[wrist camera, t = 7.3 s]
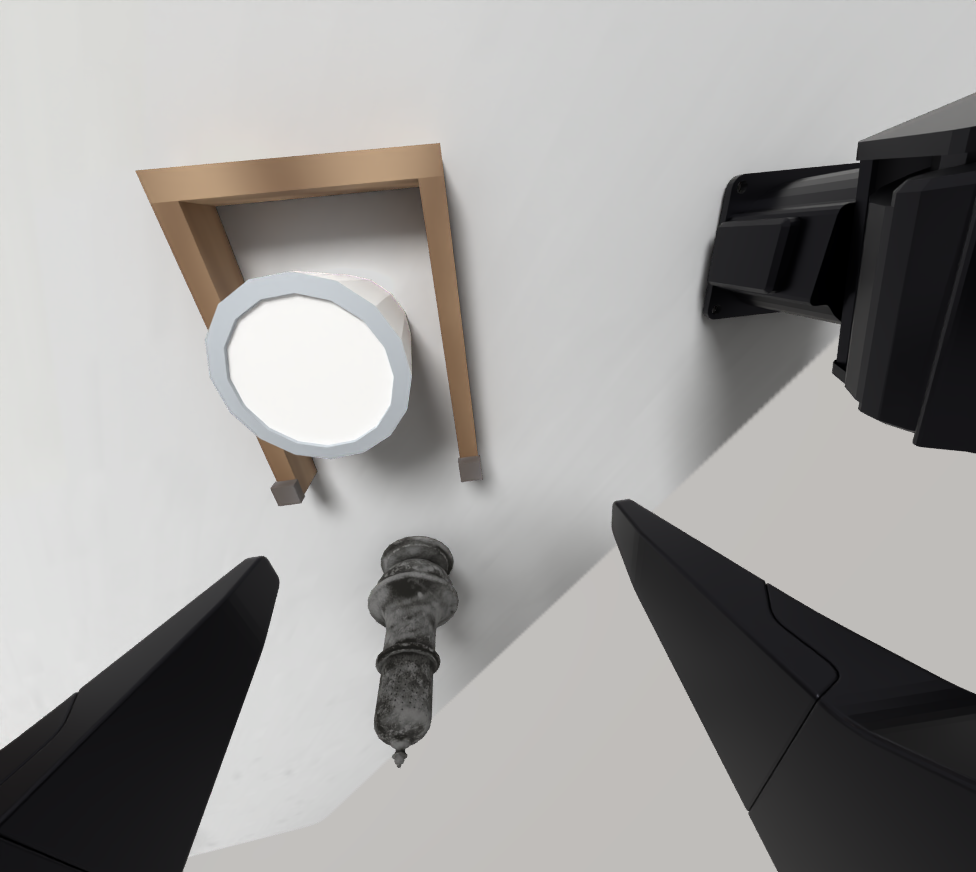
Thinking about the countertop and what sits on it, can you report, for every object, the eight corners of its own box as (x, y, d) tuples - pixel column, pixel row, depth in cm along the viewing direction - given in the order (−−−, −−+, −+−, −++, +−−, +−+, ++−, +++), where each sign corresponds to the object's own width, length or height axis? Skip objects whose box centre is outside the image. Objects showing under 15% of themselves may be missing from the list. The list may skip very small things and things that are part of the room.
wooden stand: (443, 156, 16) (442, 138, 13) (478, 450, 23) (482, 479, 20) (177, 181, 15) (119, 167, 12) (299, 474, 22) (278, 506, 20)
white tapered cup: (418, 262, 18) (403, 273, 11) (426, 394, 21) (417, 458, 15) (269, 258, 17) (168, 268, 11) (301, 395, 20) (237, 463, 14)
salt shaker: (420, 599, 29) (405, 804, 18) (360, 565, 27) (303, 777, 16) (473, 559, 27) (489, 757, 17) (414, 519, 25) (390, 721, 15)
